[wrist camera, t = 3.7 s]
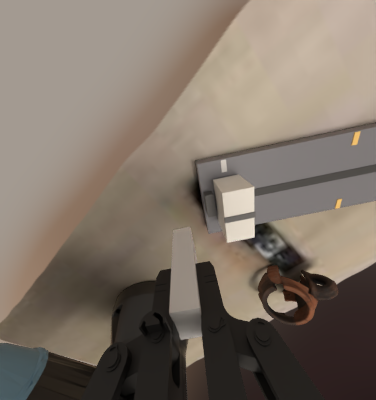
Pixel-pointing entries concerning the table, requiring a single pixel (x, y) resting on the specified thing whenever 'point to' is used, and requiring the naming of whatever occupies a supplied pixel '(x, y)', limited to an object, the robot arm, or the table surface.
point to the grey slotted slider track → (298, 175)
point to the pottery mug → (296, 294)
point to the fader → (235, 207)
